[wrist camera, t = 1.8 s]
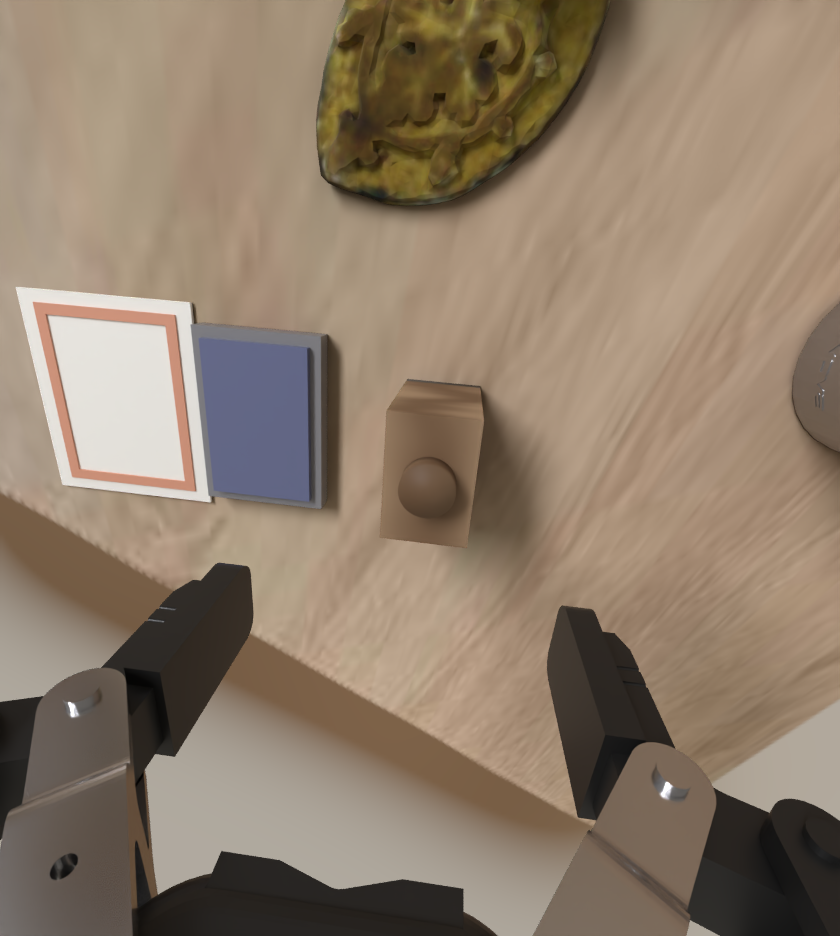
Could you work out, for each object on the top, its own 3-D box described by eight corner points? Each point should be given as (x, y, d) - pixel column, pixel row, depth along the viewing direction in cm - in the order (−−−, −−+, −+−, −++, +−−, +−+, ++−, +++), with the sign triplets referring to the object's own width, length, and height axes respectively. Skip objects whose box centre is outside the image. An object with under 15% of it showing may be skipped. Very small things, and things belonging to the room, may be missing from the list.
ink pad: (327, 334, 25) (318, 337, 23) (326, 500, 28) (319, 512, 27) (202, 322, 25) (186, 324, 24) (218, 487, 29) (205, 498, 27)
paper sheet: (192, 302, 25) (188, 302, 24) (212, 501, 29) (209, 503, 29) (19, 286, 25) (14, 286, 25) (64, 483, 30) (61, 485, 30)
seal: (397, 268, 24) (659, 29, 20) (388, 275, 20) (719, -27, 16) (266, 99, 21) (541, -232, 17) (225, 66, 17) (576, -389, 12)
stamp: (480, 386, 25) (485, 427, 18) (467, 485, 27) (466, 560, 20) (407, 379, 25) (382, 417, 18) (400, 478, 27) (375, 549, 20)
